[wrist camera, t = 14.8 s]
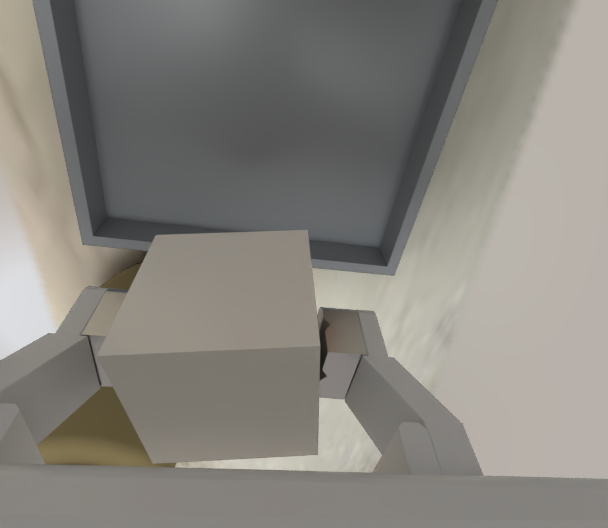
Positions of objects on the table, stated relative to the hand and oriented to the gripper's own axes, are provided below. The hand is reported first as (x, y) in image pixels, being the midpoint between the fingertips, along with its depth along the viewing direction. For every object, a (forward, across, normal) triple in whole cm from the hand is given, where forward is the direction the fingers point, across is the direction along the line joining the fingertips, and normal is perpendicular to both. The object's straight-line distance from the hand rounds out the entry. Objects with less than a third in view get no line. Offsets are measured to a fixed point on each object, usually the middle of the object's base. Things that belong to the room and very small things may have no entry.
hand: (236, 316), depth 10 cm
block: (+1, 0, 0) cm, 1 cm away
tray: (+12, 0, -2) cm, 13 cm away
